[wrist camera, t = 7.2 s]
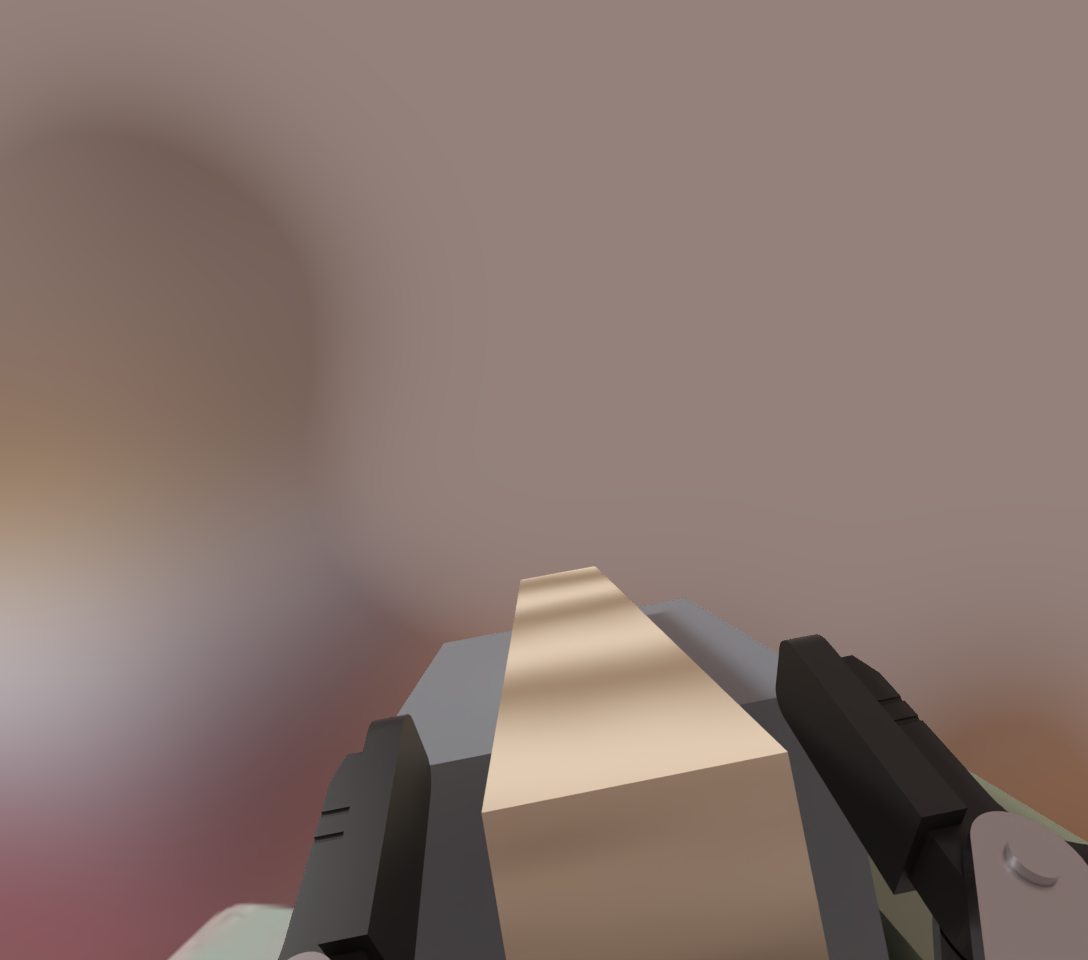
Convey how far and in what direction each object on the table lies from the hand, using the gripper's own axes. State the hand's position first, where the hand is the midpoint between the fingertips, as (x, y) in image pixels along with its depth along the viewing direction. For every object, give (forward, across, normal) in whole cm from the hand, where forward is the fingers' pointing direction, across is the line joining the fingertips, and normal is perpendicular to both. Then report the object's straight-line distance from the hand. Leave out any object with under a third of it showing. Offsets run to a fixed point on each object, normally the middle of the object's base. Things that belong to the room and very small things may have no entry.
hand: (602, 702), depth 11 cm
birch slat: (+4, 0, -5) cm, 6 cm away
